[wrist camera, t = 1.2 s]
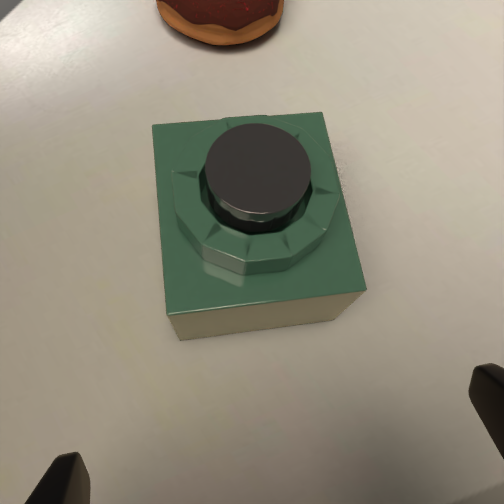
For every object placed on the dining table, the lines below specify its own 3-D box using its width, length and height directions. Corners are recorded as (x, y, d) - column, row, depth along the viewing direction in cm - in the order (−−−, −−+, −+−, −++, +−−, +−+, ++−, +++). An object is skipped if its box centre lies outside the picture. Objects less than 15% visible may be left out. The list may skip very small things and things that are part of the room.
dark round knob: (312, 226, 19) (320, 208, 17) (212, 237, 18) (211, 219, 17) (294, 143, 20) (300, 118, 19) (201, 150, 20) (199, 126, 18)
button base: (334, 320, 25) (381, 277, 18) (179, 341, 24) (161, 305, 17) (302, 173, 29) (330, 86, 21) (165, 185, 28) (145, 99, 20)
